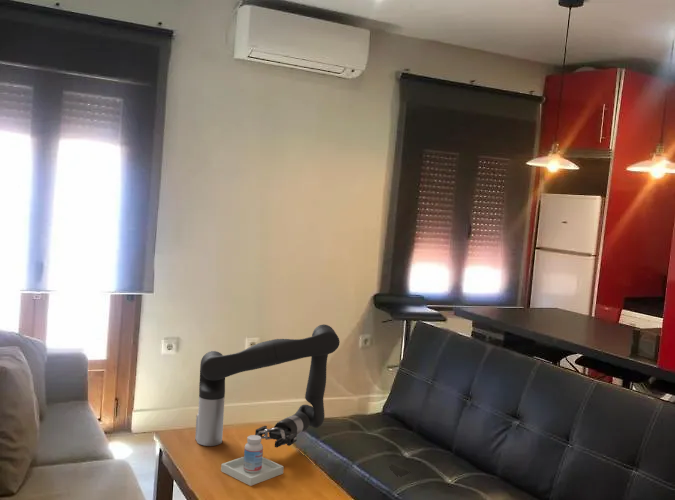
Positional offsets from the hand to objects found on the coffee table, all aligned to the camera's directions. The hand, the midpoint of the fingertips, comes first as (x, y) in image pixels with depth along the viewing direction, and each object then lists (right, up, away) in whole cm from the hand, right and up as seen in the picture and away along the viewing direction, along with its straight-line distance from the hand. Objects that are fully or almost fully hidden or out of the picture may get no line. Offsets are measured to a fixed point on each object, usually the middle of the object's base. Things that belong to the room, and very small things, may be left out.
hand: (265, 441), depth 238 cm
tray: (-4, -9, -6) cm, 11 cm away
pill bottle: (-4, -8, -6) cm, 10 cm away
